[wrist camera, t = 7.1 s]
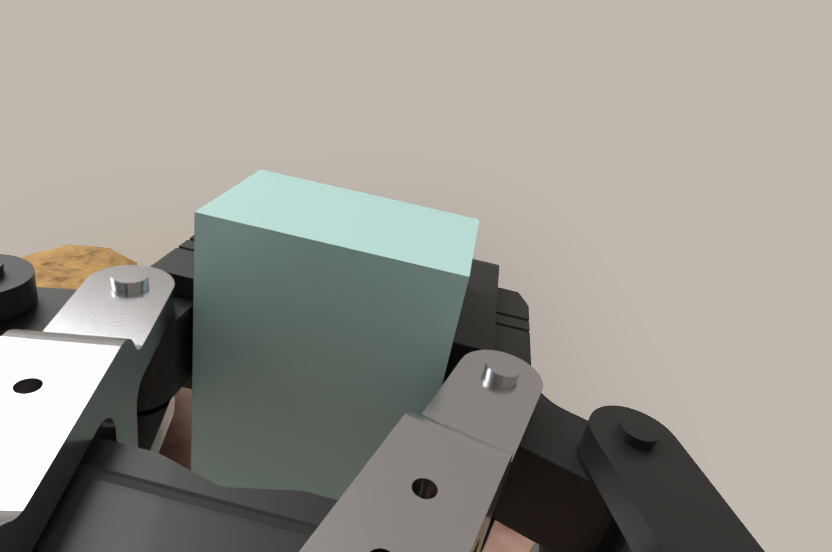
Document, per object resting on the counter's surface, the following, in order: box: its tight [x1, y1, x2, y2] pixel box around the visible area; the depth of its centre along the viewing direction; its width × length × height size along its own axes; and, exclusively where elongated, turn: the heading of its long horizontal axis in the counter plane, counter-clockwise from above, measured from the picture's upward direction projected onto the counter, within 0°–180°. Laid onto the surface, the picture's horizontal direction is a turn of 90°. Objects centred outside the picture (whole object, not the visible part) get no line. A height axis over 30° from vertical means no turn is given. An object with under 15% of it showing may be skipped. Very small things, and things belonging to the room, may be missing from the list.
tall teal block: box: [191, 170, 479, 500], centre depth 11 cm, size 4×4×10 cm
